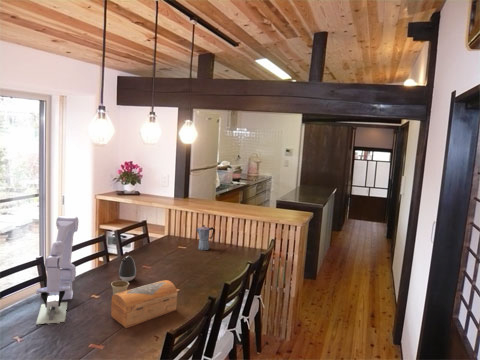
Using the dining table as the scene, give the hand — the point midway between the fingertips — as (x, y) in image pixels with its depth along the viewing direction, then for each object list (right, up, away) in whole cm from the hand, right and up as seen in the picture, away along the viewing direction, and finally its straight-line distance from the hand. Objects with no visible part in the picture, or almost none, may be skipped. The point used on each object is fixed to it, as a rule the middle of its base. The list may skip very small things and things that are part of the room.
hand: (53, 306), depth 182 cm
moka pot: (+63, +5, +122) cm, 137 cm away
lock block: (0, -2, 0) cm, 2 cm away
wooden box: (+43, -7, +8) cm, 44 cm away
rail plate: (0, -4, 0) cm, 4 cm away
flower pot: (+26, -3, +22) cm, 34 cm away
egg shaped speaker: (+22, 0, +48) cm, 52 cm away
